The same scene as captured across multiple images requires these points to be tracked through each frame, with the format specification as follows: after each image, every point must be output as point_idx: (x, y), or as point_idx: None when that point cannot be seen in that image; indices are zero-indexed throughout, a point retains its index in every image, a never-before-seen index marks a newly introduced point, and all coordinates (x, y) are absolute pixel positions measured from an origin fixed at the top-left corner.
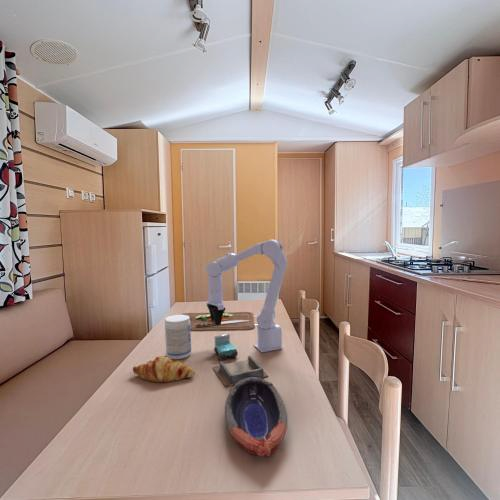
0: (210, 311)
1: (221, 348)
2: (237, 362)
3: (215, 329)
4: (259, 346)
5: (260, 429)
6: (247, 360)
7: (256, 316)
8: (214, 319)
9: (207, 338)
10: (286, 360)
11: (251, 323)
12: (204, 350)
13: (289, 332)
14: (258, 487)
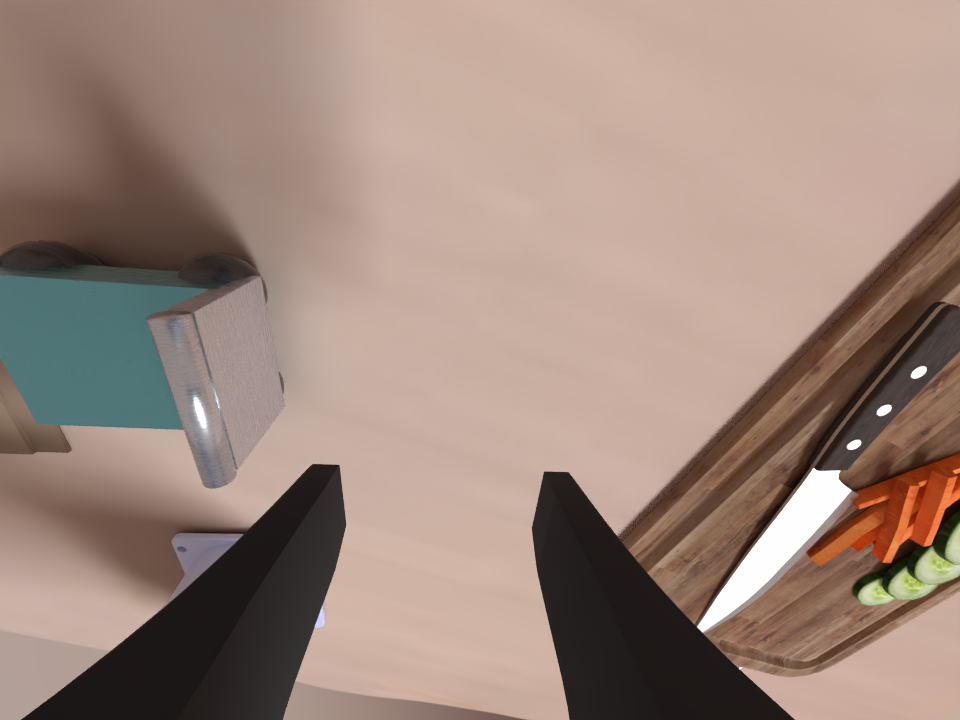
0: (628, 659)
1: (62, 306)
2: None
3: (738, 434)
4: (220, 556)
5: None
6: (40, 424)
7: None
8: (286, 533)
9: (620, 316)
10: (45, 583)
11: None
12: (353, 187)
13: (420, 693)
14: None
